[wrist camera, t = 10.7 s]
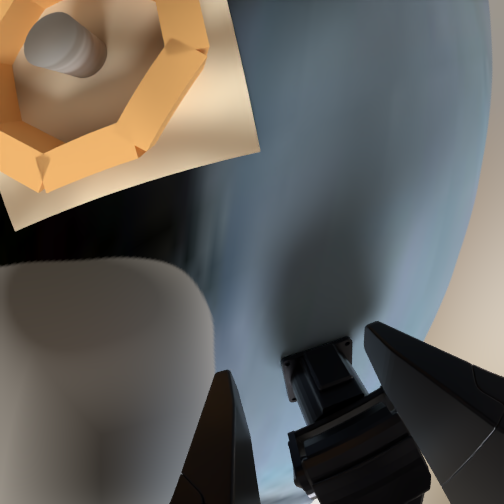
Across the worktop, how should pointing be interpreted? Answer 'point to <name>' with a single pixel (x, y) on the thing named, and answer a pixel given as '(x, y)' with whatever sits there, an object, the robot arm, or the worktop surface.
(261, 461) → the worktop surface
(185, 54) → the orange octagonal ring
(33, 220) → the hook stand
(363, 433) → the robot arm
